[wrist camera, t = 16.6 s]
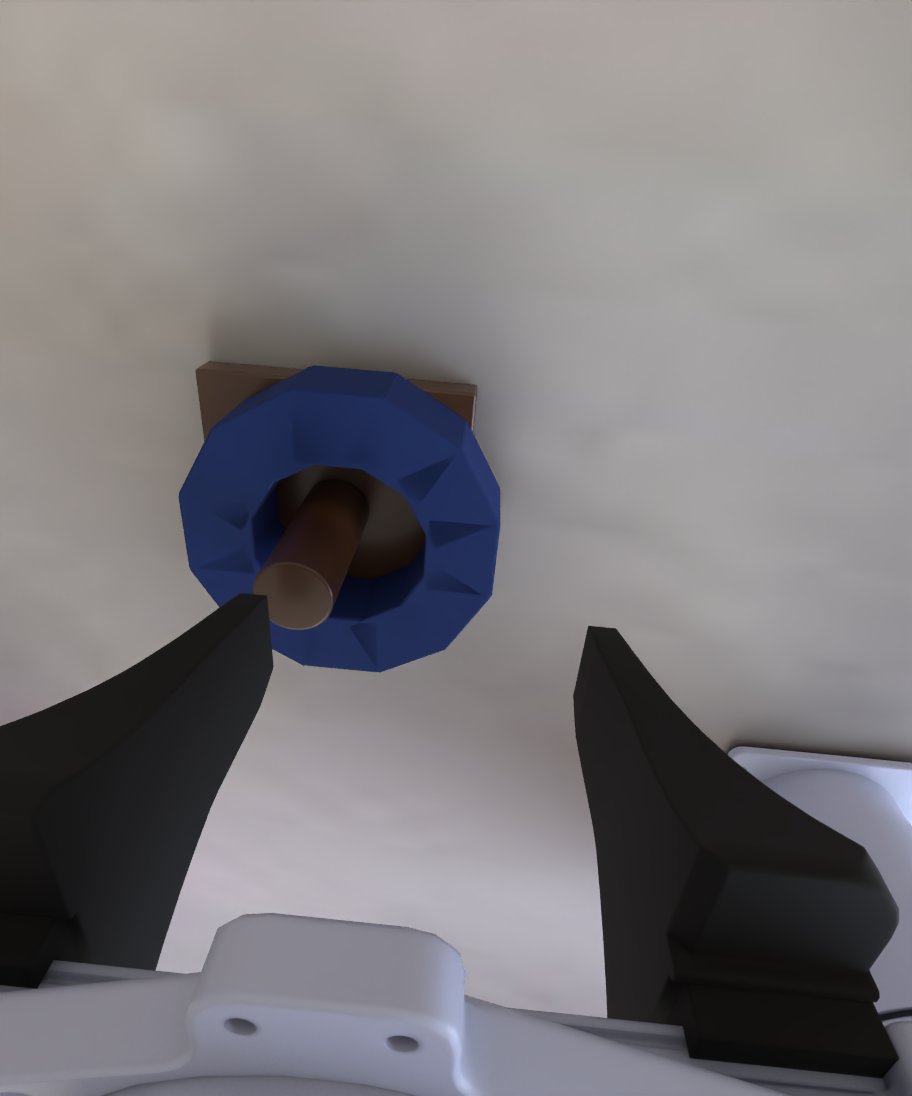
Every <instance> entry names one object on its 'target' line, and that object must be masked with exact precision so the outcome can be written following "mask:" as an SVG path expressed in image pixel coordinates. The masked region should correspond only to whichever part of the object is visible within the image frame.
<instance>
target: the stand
mask: <svg viewBox="0 0 912 1096" xmlns="http://www.w3.org/2000/svg"><path fill="white" fill-rule="evenodd" d="M300 371H302V370H301V369H289V368H278V367H267V366H256V365H244V364H233V363H222V362H207V363H206V364H204V365H202V366H201V367H199V368H197V369H196V377H197V385H198V393H199V401H200V409H201V417H202V425H203V433H204V441H205V440H206V438H207V436H208V434H209V432H210V430H211V428H212V427H213V426H215V424H217V423H218V422H219V421H220V420H221V419H222V418H224V417H225V416H226V415H227V414H228V413H230V412H231V411H232V410H233V409H234V408H236V407H237V406H238V405H239V404H240V403H242V402H243V401H244V400H245V399H247V398H249V397H251V396H253V395H255V394H257V393H259V392H261V391H263V390H265V389H267V388H269V387H271V386H273V385H275V384H277V383H279V382H281V381H283V380H285V379H287V378H288V377H290V376H292V375H294V374H296V373H298V372H300ZM407 380H408V381H409V382H411V383H412V384H414V385H415V386H417V387H418V388H420V389H421V390H423V391H424V392H426V393H427V394H429V395H430V396H432V397H433V398H435V399H436V400H437V401H439V402H440V403H442V404H443V405H445V406H446V407H448V408H449V409H451V410H452V411H454V412H455V413H457V414H458V415H460V416H461V417H463V418H464V419H465V420H466V421H467V422H468V424H469V426H470V428H471V430H472V432H473V430H474V419H475V408H476V397H477V386H476V385H470V384H459V383H448V382H436V381H425V380H414V379H407ZM277 491H278V505H279V519H280V523H281V525H282V526H283V528H284V529H285V531H284V533H283V535H282V536H281V538H280V539H279V541H278V543H277V544H276V546H275V547H274V549H273V551H272V552H271V554H270V555H269V557H268V559H267V560H266V562H265V563H264V565H263V567H262V568H261V570H260V571H259V573H258V575H257V576H256V578H255V581H254V584H253V594H257V595H267V598H268V609H269V620H270V621H272V622H273V623H275V624H277V625H279V626H281V627H284V628H288V629H293V630H305V629H310V628H313V627H316V626H318V625H319V624H321V623H323V622H324V621H325V620H326V619H327V618H328V617H329V615H330V613H331V611H332V609H333V606H334V604H335V601H336V599H337V596H338V594H339V591H340V589H341V586H342V584H343V581H344V579H345V576H353V577H364V578H374V579H375V578H377V577H380V576H382V575H385V574H387V573H390V572H392V571H395V570H397V569H400V568H402V567H405V566H407V565H410V564H411V562H412V561H413V560H414V558H415V557H416V556H417V555H418V553H419V552H420V551H421V549H422V548H423V547H424V545H425V538H426V534H425V532H424V530H423V529H422V527H421V525H420V523H419V522H418V520H417V518H416V516H415V515H414V513H413V511H412V509H411V507H410V506H409V504H408V502H407V500H406V499H405V497H404V495H402V494H400V493H399V492H397V491H396V490H394V489H392V488H391V487H389V486H388V485H386V484H384V483H383V482H381V481H380V480H378V479H377V478H375V477H373V476H372V475H370V474H369V473H367V472H365V471H364V470H362V469H355V468H344V467H333V466H321V465H311V466H309V467H307V468H305V469H303V470H301V471H299V472H296V473H294V474H292V475H290V476H288V477H286V478H283V479H281V480H280V482H279V483H278V485H277Z"/></svg>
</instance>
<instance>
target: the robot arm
mask: <svg viewBox="0 0 912 1096" xmlns="http://www.w3.org/2000/svg"><path fill="white" fill-rule="evenodd" d="M272 670H273V656H272V644H271V633H270V621H269V609H268V598H267V595H257V594H246V593H240V594H238V595H237V596H235V597H234V598H232V599H231V600H230V601H228V602H227V603H225V604H224V605H223V606H221V607H220V608H218V609H217V610H216V611H214V612H213V613H212V614H210V615H209V616H208V617H206V618H205V619H203V620H202V621H201V622H199V623H198V624H196V625H195V626H193V627H192V628H191V629H189V630H188V631H186V632H185V633H184V634H182V635H181V636H179V637H178V638H176V639H175V640H173V641H172V642H170V643H169V644H167V645H166V646H164V647H162V648H161V649H159V650H158V651H156V652H155V653H153V654H152V655H150V656H148V657H147V658H145V659H144V660H142V661H141V662H139V663H137V664H136V665H134V666H132V667H131V668H129V669H127V670H125V671H123V672H122V673H120V674H118V675H116V676H114V677H112V678H111V679H109V680H107V681H105V682H103V683H101V684H99V685H97V686H95V687H93V688H91V689H89V690H87V691H85V692H83V693H81V694H78V695H76V696H74V697H72V698H69V699H67V700H65V701H63V702H60V703H58V704H56V705H54V706H51V707H49V708H47V709H44V710H42V711H40V712H37V713H35V714H32V715H29V716H27V717H24V718H22V719H19V720H16V721H14V722H11V723H8V724H5V725H2V726H0V1096H912V826H911V824H912V763H909V762H899V761H888V760H878V759H868V758H858V757H847V756H837V755H827V754H817V753H806V752H796V751H786V750H775V749H765V748H755V747H745V746H741V747H736V748H734V749H732V750H731V751H730V752H729V753H728V755H727V754H726V753H725V752H724V751H722V750H721V749H720V748H719V747H718V746H717V745H716V744H715V743H714V742H713V741H712V740H710V739H709V738H708V737H707V736H706V735H705V734H704V733H703V732H702V731H701V730H700V729H699V728H698V727H697V726H696V725H695V724H694V723H693V722H692V721H691V720H690V719H689V718H688V717H687V716H686V715H685V714H684V713H683V712H682V711H681V709H680V708H679V707H678V706H677V705H676V704H675V703H674V702H673V701H672V700H671V699H670V697H669V696H668V695H667V694H666V693H665V691H664V690H663V689H662V688H661V687H660V685H659V684H658V683H657V682H656V680H655V679H654V678H653V677H652V676H651V674H650V673H649V672H648V670H647V669H646V668H645V667H644V665H643V664H642V663H641V661H640V660H639V659H638V657H637V656H636V655H635V653H634V652H633V651H632V649H631V648H630V647H629V645H628V644H627V642H626V641H625V640H624V638H623V637H622V636H621V635H620V633H619V632H618V631H617V629H616V628H605V627H595V626H588V630H587V634H586V639H585V644H584V648H583V653H582V658H581V662H580V667H579V672H578V677H577V681H576V686H575V691H574V695H573V698H574V717H575V732H576V740H577V746H578V751H579V757H580V762H581V767H582V772H583V777H584V783H585V788H586V793H587V798H588V803H589V808H590V813H591V819H592V824H593V830H594V836H595V843H596V852H597V864H598V875H599V886H600V899H601V913H602V926H603V941H604V958H605V976H606V994H607V1018H600V1017H591V1016H581V1015H572V1014H562V1013H553V1012H543V1011H534V1010H524V1009H515V1008H506V1007H503V1006H499V1005H496V1004H493V1003H489V1002H486V1001H483V1000H480V999H476V998H473V997H470V996H467V995H464V991H465V968H464V965H463V962H462V959H461V956H460V953H459V952H458V951H457V950H456V949H455V948H453V947H452V946H451V945H449V944H448V943H447V942H445V941H444V940H442V939H441V938H440V937H438V936H437V935H435V934H432V933H428V932H424V931H420V930H417V929H413V928H409V927H402V926H392V925H382V924H372V923H363V922H353V921H343V920H334V919H324V918H314V917H305V916H295V915H285V914H276V913H264V914H246V915H242V916H240V917H238V918H236V919H234V920H232V921H230V922H229V923H227V924H225V925H223V926H221V927H219V928H218V929H217V932H216V935H215V937H214V940H213V943H212V945H211V948H210V950H209V953H208V956H207V958H206V961H205V964H204V966H203V969H202V971H201V972H199V973H189V974H182V973H172V972H163V971H155V970H156V967H157V963H158V960H159V957H160V953H161V950H162V947H163V943H164V940H165V937H166V934H167V931H168V928H169V925H170V922H171V919H172V916H173V913H174V909H175V906H176V903H177V900H178V897H179V894H180V891H181V888H182V885H183V883H184V880H185V877H186V874H187V871H188V868H189V865H190V863H191V860H192V857H193V854H194V851H195V848H196V846H197V843H198V840H199V838H200V835H201V832H202V830H203V827H204V824H205V822H206V819H207V816H208V814H209V811H210V808H211V806H212V804H213V802H214V799H215V797H216V795H217V793H218V790H219V788H220V786H221V784H222V782H223V780H224V778H225V776H226V774H227V772H228V770H229V768H230V766H231V764H232V762H233V760H234V758H235V756H236V754H237V752H238V750H239V748H240V746H241V744H242V742H243V740H244V738H245V736H246V734H247V732H248V730H249V728H250V726H251V724H252V722H253V720H254V718H255V716H256V714H257V712H258V710H259V708H260V705H261V703H262V700H263V697H264V694H265V691H266V688H267V685H268V682H269V679H270V676H271V673H272Z"/></svg>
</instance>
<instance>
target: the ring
mask: <svg viewBox="0 0 912 1096" xmlns="http://www.w3.org/2000/svg"><path fill="white" fill-rule="evenodd" d="M311 465H321V466H333V467H344V468H355V469H362V470H364V471H365V472H367V473H369V474H370V475H372V476H373V477H375V478H377V479H378V480H380V481H381V482H383V483H384V484H386V485H388V486H389V487H391V488H392V489H394V490H396V491H397V492H399V493H400V494H402V495H404V497H405V499H406V500H407V502H408V504H409V506H410V507H411V509H412V511H413V513H414V515H415V516H416V518H417V520H418V522H419V523H420V525H421V527H422V529H423V530H424V532H425V534H426V538H425V545H424V547H423V548H422V549H421V551H420V552H419V553H418V555H417V556H416V557H415V558H414V560H413V561H412V562H411V564H410V565H407V566H405V567H402V568H400V569H397V570H395V571H392V572H390V573H387V574H385V575H382V576H380V577H377V578H375V579H374V578H364V577H353V576H345V579H344V581H343V584H342V586H341V589H340V591H339V594H338V596H337V599H336V601H335V604H334V606H333V609H332V611H331V613H330V615H329V617H328V618H327V619H326V620H325V621H324V622H323V623H321V624H319V625H318V626H316V627H313V628H310V629H305V630H293V629H288V628H284V627H281V626H279V625H277V624H275V623H273V622H272V621H270V620H269V621H270V633H271V644H272V649H274V650H275V651H277V652H279V653H281V654H283V655H285V656H287V657H289V658H290V659H292V660H294V661H296V662H298V663H300V664H302V665H304V666H305V665H307V666H317V667H328V668H338V669H349V670H359V671H370V672H382V671H385V670H388V669H391V668H394V667H397V666H399V665H402V664H405V663H408V662H411V661H414V660H417V659H419V658H422V657H425V656H428V655H431V654H434V653H436V652H439V651H442V650H445V649H446V648H447V647H448V646H449V645H450V643H451V642H452V641H453V640H454V639H455V638H456V636H457V635H458V634H459V633H460V632H461V631H462V630H463V628H464V627H465V626H466V625H467V624H468V623H469V621H470V620H471V619H472V618H473V617H474V616H475V615H476V613H477V612H478V611H479V610H480V609H481V608H482V606H483V605H484V604H485V603H486V602H487V601H488V599H489V598H490V597H491V596H492V590H493V582H494V573H495V565H496V556H497V548H498V539H499V531H500V488H499V486H498V484H497V481H496V479H495V477H494V475H493V473H492V471H491V469H490V467H489V465H488V463H487V461H486V459H485V457H484V455H483V453H482V451H481V449H480V447H479V445H478V443H477V441H476V439H475V436H474V434H473V432H472V430H471V428H470V426H469V424H468V422H467V421H466V420H465V419H464V418H463V417H461V416H460V415H458V414H457V413H455V412H454V411H452V410H451V409H449V408H448V407H446V406H445V405H443V404H442V403H440V402H439V401H437V400H436V399H435V398H433V397H432V396H430V395H429V394H427V393H426V392H424V391H423V390H421V389H420V388H418V387H417V386H415V385H414V384H412V383H411V382H409V381H408V380H407V379H405V378H404V377H402V376H401V375H399V374H397V373H393V372H382V371H370V370H359V369H347V368H336V367H324V366H312V367H308V368H306V369H304V370H302V371H300V372H298V373H296V374H294V375H292V376H290V377H288V378H287V379H285V380H283V381H281V382H279V383H277V384H275V385H273V386H271V387H269V388H267V389H265V390H263V391H261V392H259V393H257V394H255V395H253V396H251V397H249V398H247V399H245V400H244V401H243V402H242V403H240V404H239V405H238V406H237V407H236V408H234V409H233V410H232V411H231V412H230V413H228V414H227V415H226V416H225V417H224V418H222V419H221V420H220V421H219V422H218V423H217V424H215V426H213V427H212V428H211V430H210V432H209V434H208V436H207V438H206V440H205V442H204V444H203V446H202V448H201V450H200V452H199V454H198V456H197V458H196V460H195V462H194V464H193V466H192V468H191V470H190V472H189V474H188V476H187V478H186V480H185V482H184V484H183V486H182V488H181V490H180V492H179V503H180V509H181V516H182V522H183V529H184V535H185V541H186V548H187V554H188V561H189V567H190V569H191V571H192V572H193V574H194V575H195V576H196V578H197V579H198V580H199V581H200V583H201V584H202V585H203V587H204V588H205V589H206V590H207V592H208V593H209V594H210V596H211V597H212V598H213V599H214V601H215V602H216V603H217V605H218V606H219V607H221V606H223V605H224V604H225V603H227V602H228V601H230V600H231V599H232V598H234V597H235V596H237V595H238V594H240V593H246V594H253V584H254V581H255V578H256V576H257V575H258V573H259V571H260V570H261V568H262V567H263V565H264V563H265V562H266V560H267V559H268V557H269V555H270V554H271V552H272V551H273V549H274V547H275V546H276V544H277V543H278V541H279V539H280V538H281V536H282V535H283V533H284V531H285V529H284V528H283V526H282V525H281V523H280V519H279V505H278V491H277V485H278V483H279V482H280V480H281V479H283V478H286V477H288V476H290V475H292V474H294V473H296V472H299V471H301V470H303V469H305V468H307V467H309V466H311Z"/></svg>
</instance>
